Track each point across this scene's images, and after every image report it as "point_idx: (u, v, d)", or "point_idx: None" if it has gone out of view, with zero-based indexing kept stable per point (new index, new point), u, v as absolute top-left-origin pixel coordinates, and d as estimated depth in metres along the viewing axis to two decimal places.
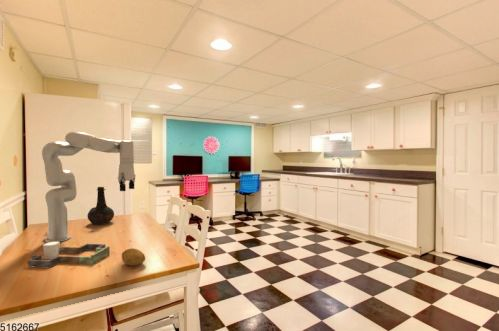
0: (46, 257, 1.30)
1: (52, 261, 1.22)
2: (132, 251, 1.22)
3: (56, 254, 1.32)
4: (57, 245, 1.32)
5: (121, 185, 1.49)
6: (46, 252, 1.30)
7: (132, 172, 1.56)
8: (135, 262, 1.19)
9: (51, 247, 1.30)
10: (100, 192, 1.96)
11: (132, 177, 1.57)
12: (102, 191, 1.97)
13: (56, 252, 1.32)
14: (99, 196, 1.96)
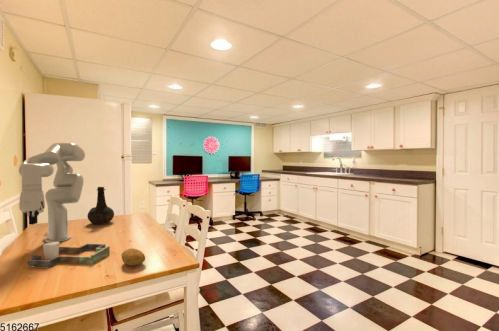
0: (46, 257, 1.30)
1: (52, 261, 1.22)
2: (132, 251, 1.22)
3: (56, 254, 1.32)
4: (57, 245, 1.32)
5: (35, 217, 1.32)
6: (46, 252, 1.30)
7: None
8: (135, 262, 1.19)
9: (51, 247, 1.30)
10: (101, 192, 1.96)
11: None
12: (102, 191, 1.97)
13: (56, 252, 1.32)
14: (99, 196, 1.96)
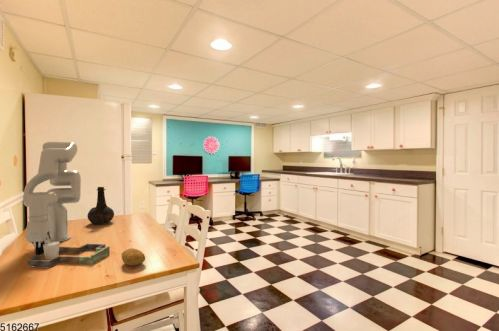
0: (46, 257, 1.30)
1: (52, 261, 1.22)
2: (132, 251, 1.22)
3: (56, 254, 1.32)
4: (57, 245, 1.32)
5: (42, 247, 1.33)
6: (46, 252, 1.30)
7: None
8: (135, 262, 1.19)
9: (51, 247, 1.30)
10: (100, 192, 1.96)
11: None
12: (102, 191, 1.97)
13: (56, 252, 1.32)
14: (99, 196, 1.96)
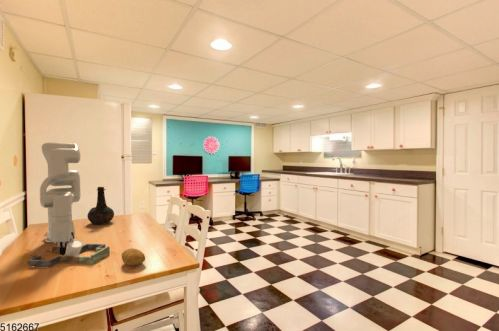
0: None
1: (52, 261, 1.22)
2: (132, 251, 1.22)
3: (77, 255, 1.31)
4: (80, 248, 1.31)
5: None
6: (68, 252, 1.28)
7: None
8: (135, 262, 1.19)
9: (75, 249, 1.28)
10: (100, 192, 1.96)
11: None
12: (102, 191, 1.97)
13: (77, 253, 1.31)
14: (99, 196, 1.96)
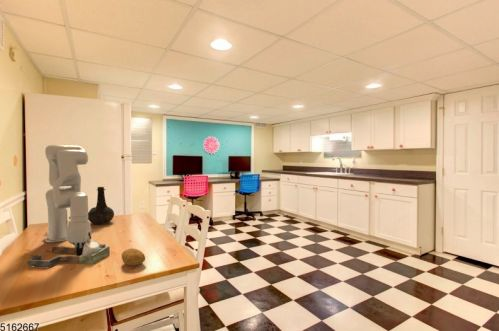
0: None
1: (52, 261, 1.22)
2: (132, 251, 1.22)
3: None
4: (97, 248, 1.30)
5: (82, 248, 1.31)
6: (86, 253, 1.27)
7: None
8: (135, 262, 1.19)
9: (92, 250, 1.27)
10: (101, 192, 1.96)
11: None
12: (102, 191, 1.97)
13: None
14: (99, 196, 1.96)
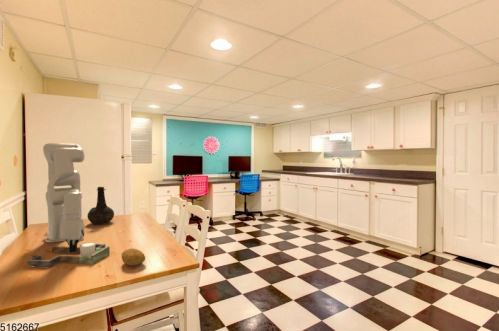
0: None
1: (52, 261, 1.22)
2: (132, 251, 1.22)
3: None
4: (94, 246, 1.31)
5: (75, 245, 1.32)
6: (83, 253, 1.28)
7: None
8: (135, 262, 1.19)
9: (88, 248, 1.28)
10: (101, 192, 1.96)
11: None
12: (102, 191, 1.97)
13: (93, 253, 1.31)
14: (99, 196, 1.96)
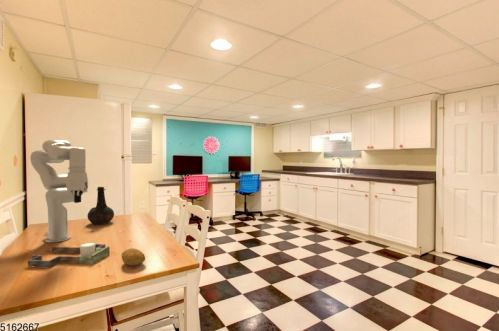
0: None
1: (52, 261, 1.22)
2: (132, 251, 1.22)
3: None
4: (94, 246, 1.31)
5: (79, 196, 1.45)
6: (83, 253, 1.28)
7: None
8: (135, 262, 1.19)
9: (88, 248, 1.28)
10: (100, 192, 1.96)
11: None
12: (102, 191, 1.97)
13: (93, 253, 1.31)
14: (99, 196, 1.96)
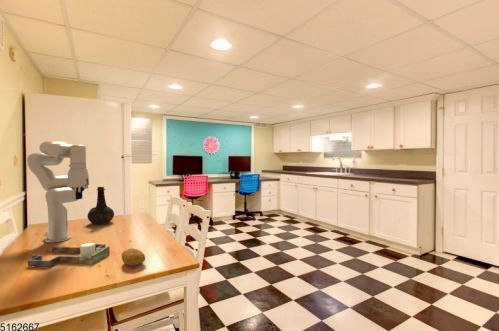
0: None
1: (52, 261, 1.22)
2: (132, 251, 1.22)
3: None
4: (94, 246, 1.31)
5: (81, 193, 1.47)
6: (83, 253, 1.28)
7: None
8: (135, 262, 1.19)
9: (88, 248, 1.28)
10: (100, 192, 1.96)
11: None
12: (102, 191, 1.97)
13: (93, 253, 1.31)
14: (99, 196, 1.96)
